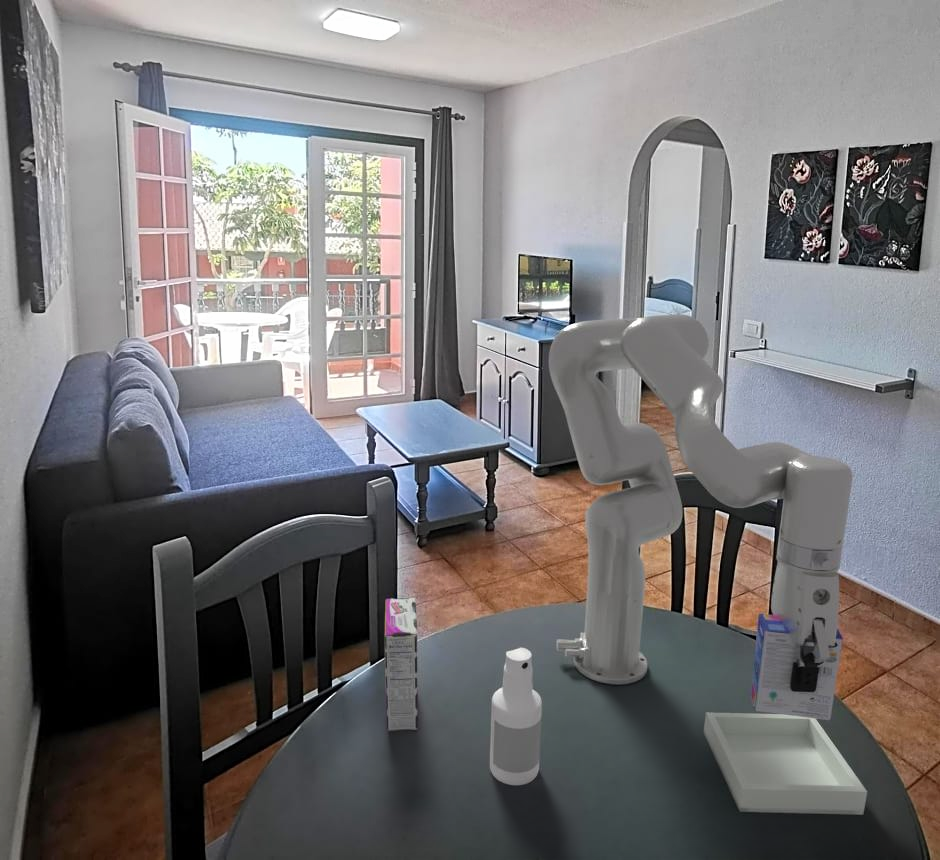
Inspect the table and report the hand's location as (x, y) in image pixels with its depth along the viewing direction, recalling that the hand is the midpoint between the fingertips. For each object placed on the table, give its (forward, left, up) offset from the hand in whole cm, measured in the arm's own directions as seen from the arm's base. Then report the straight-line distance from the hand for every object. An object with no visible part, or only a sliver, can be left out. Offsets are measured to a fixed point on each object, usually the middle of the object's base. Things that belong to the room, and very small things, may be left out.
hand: (792, 675), depth 101 cm
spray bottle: (-37, -1, -15) cm, 40 cm away
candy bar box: (-54, +12, -15) cm, 57 cm away
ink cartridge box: (0, 0, -5) cm, 5 cm away
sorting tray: (0, 0, -15) cm, 15 cm away
